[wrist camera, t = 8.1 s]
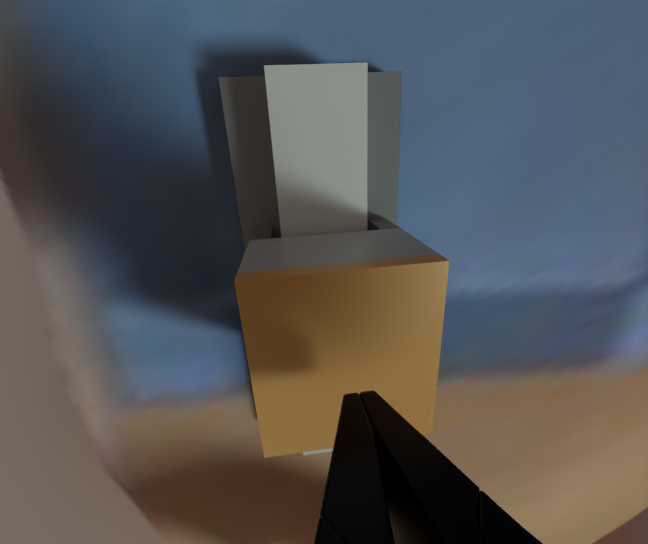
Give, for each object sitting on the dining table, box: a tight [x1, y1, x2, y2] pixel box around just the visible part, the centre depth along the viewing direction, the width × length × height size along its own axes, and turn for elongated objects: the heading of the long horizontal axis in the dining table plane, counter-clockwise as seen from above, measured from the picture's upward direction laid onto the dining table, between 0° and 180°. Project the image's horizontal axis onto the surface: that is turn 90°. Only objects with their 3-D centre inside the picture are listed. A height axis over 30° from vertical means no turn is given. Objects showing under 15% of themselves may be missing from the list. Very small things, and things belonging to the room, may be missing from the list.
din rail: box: [218, 63, 402, 455], centre depth 15 cm, size 18×7×2 cm, turn 3°
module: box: [234, 218, 449, 458], centre depth 12 cm, size 6×6×6 cm
